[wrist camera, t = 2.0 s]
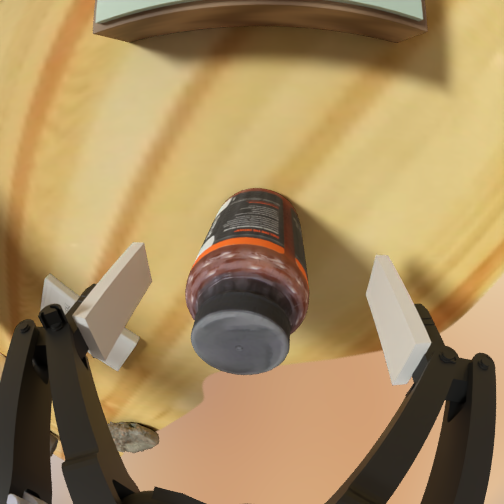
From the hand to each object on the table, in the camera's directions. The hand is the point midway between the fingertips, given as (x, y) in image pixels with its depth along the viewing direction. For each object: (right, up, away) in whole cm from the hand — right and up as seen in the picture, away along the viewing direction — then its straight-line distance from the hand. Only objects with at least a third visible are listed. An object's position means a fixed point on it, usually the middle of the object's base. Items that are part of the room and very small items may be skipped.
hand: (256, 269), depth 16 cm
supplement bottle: (0, +3, +5) cm, 6 cm away
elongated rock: (-31, -39, +33) cm, 59 cm away
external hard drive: (-20, -7, +13) cm, 25 cm away
